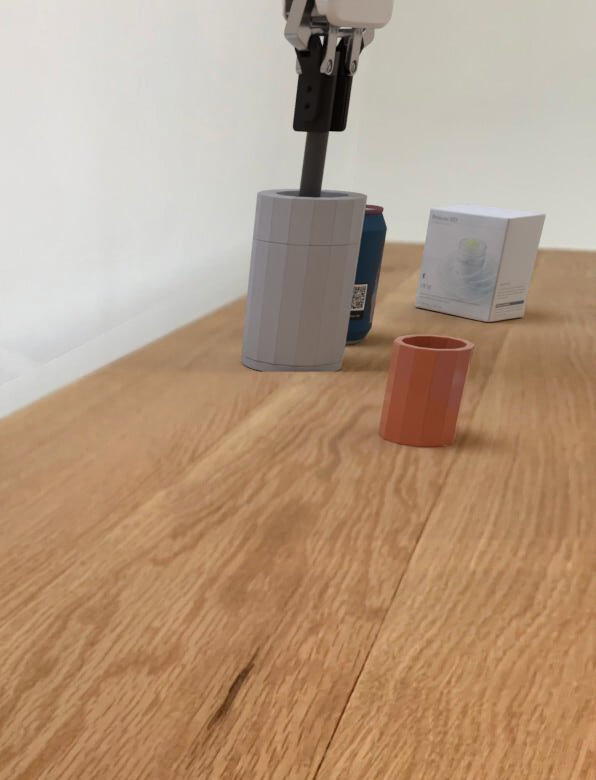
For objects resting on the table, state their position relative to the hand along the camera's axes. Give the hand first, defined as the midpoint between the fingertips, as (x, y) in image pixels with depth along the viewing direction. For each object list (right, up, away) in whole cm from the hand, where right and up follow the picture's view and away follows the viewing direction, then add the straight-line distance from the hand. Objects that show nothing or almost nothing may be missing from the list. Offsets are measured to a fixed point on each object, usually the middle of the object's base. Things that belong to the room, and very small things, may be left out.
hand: (319, 129), depth 91 cm
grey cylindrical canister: (0, -16, +10) cm, 19 cm away
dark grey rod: (0, -11, +7) cm, 13 cm away
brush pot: (+4, -29, -11) cm, 32 cm away
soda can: (+6, -10, +20) cm, 23 cm away
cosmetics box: (+25, -3, +32) cm, 41 cm away
